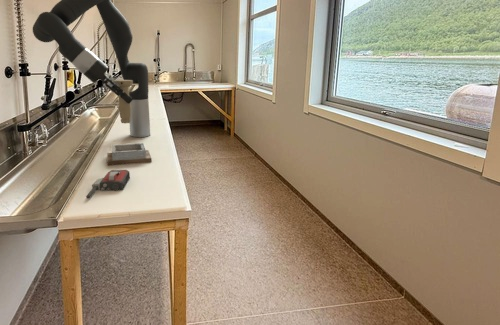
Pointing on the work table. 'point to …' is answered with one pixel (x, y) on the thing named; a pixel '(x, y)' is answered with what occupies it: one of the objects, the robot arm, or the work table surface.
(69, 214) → the work table surface
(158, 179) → the work table surface
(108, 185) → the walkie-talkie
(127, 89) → the handle
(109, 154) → the board
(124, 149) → the collar
